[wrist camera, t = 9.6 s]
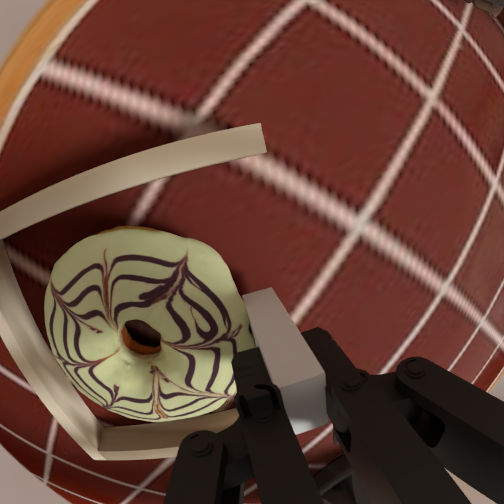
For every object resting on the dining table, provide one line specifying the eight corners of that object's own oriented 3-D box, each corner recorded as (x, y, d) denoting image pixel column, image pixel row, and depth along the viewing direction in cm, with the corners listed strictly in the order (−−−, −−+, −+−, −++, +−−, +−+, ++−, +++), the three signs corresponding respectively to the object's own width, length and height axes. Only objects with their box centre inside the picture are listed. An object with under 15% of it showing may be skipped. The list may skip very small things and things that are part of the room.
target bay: (301, 400, 18) (313, 424, 16) (99, 436, 16) (93, 459, 14) (249, 131, 13) (260, 123, 10) (-14, 225, 11) (-39, 235, 8)
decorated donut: (225, 199, 14) (236, 210, 10) (256, 373, 17) (270, 415, 13) (41, 242, 12) (3, 263, 9) (104, 394, 15) (93, 435, 12)
